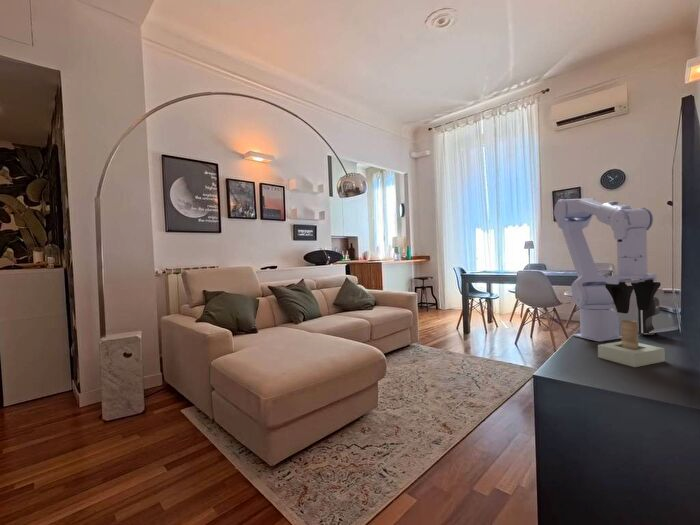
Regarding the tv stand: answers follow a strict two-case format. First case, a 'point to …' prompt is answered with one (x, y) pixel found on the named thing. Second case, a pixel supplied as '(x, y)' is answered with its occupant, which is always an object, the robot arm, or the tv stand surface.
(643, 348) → the hole block
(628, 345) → the peg
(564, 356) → the tv stand surface
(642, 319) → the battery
